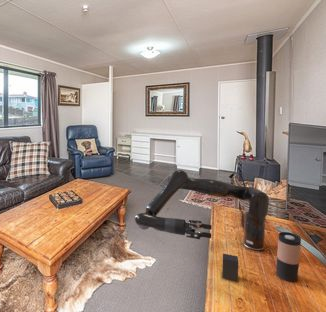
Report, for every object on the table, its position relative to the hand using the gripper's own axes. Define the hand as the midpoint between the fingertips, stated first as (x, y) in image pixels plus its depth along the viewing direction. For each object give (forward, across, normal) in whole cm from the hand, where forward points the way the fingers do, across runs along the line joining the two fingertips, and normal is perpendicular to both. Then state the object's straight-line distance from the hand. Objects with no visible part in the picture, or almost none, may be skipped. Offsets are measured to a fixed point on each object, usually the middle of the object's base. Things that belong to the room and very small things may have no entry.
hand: (211, 231), depth 107 cm
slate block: (+8, 0, +22) cm, 23 cm away
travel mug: (+30, +10, +22) cm, 39 cm away
